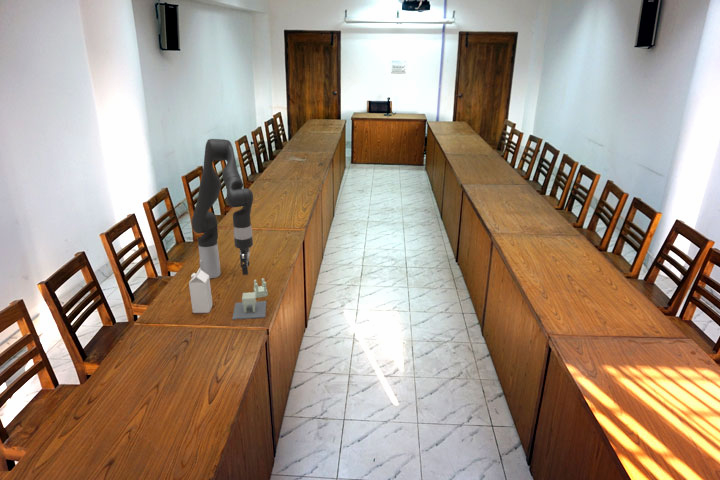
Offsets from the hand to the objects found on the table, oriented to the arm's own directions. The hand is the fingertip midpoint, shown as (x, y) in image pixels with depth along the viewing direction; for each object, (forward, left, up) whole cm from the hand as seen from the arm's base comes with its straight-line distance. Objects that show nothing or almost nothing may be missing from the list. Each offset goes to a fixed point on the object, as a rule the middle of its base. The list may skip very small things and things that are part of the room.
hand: (246, 270), depth 219 cm
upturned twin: (+4, +15, -20) cm, 25 cm away
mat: (0, 0, -20) cm, 20 cm away
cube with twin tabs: (0, 0, -19) cm, 19 cm away
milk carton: (-21, +4, -20) cm, 29 cm away
